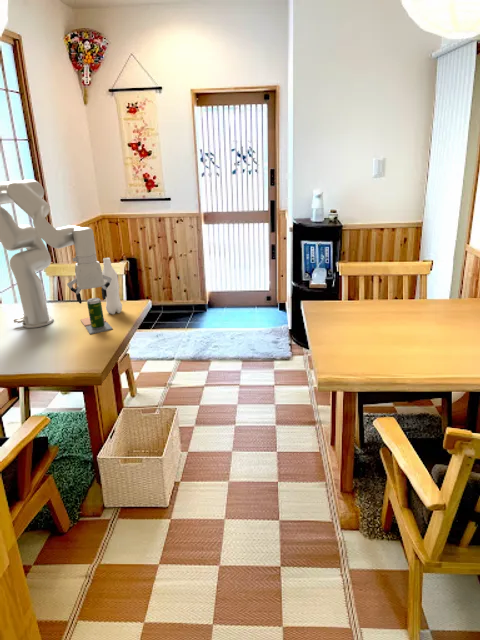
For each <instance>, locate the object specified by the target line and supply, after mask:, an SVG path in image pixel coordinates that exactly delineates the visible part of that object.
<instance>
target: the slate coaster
mask: <svg viewBox="0 0 480 640" xmlns="http://www.w3.org/2000/svg"><path fill="white" fill-rule="evenodd" d="M104 324H105V325H104V327H103V328H101V329H92V327H91V325H90V326H85V329H86V330H87V332H88V333H89V335H93V334H98V333H102V332H103V333H104V332H108V331H111V330H114V328H113V327H112V326H111V325H110V324H109V322H107V321H106V322H104Z"/></svg>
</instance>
